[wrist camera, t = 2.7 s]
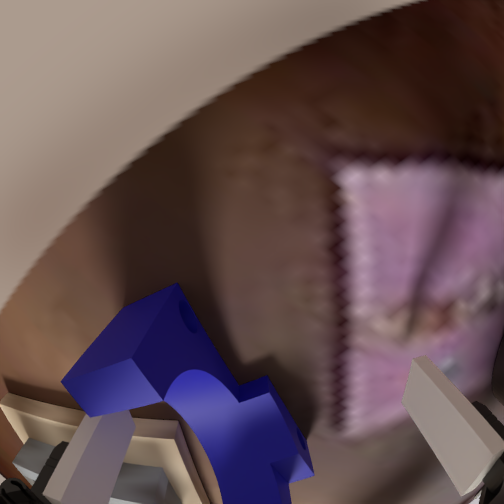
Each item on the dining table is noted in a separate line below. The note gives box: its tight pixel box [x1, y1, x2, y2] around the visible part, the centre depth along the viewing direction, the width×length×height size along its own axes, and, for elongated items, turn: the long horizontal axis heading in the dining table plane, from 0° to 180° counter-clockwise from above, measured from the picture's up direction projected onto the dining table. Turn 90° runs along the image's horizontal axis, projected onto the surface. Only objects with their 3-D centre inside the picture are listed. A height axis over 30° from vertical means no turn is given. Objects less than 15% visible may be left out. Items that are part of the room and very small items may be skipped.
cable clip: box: [61, 283, 314, 504], centre depth 11 cm, size 12×4×6 cm, turn 25°
